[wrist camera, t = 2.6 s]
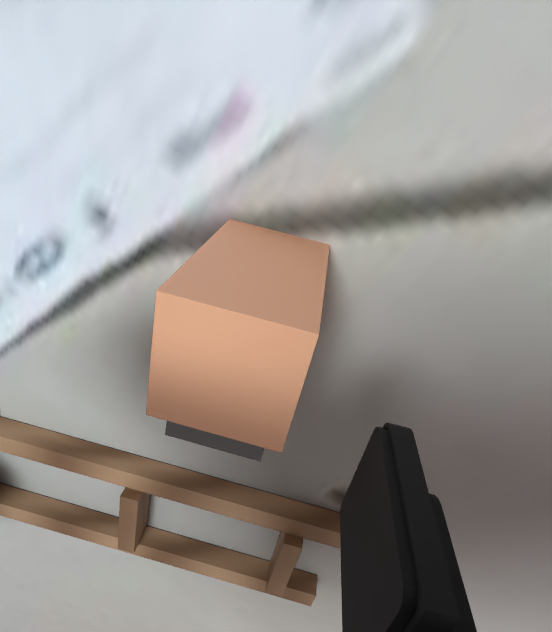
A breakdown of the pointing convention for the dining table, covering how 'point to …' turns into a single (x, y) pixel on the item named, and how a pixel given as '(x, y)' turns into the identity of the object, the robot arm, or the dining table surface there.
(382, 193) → the dining table surface
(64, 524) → the rail
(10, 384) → the dining table surface
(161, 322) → the block
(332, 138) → the dining table surface
